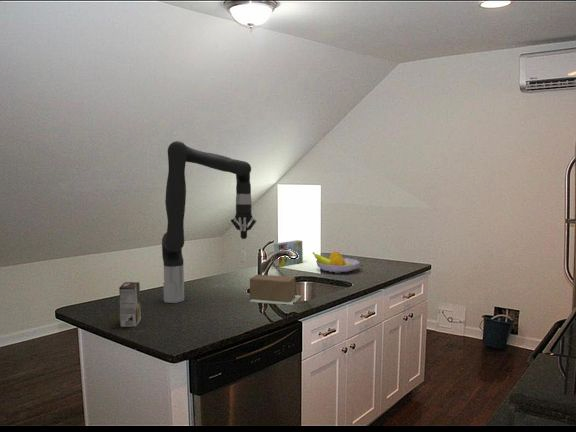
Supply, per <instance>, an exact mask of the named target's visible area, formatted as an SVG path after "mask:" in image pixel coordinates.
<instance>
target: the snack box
mask: <svg viewBox="0 0 576 432" xmlns="http://www.w3.org/2000/svg"><path fill="white" fill-rule="evenodd" d="M283 249H291V250H293V251H295V252H297V253H298V255H299V258H298V259H289V258H288V257H286V256H284V257H280V258H279V259H277V260H276V261H275V263H273V266H274V267H277V268H282V267H288V266H292V265H298V264H303V261H304V259H303V258H304V257H303V255H304V254H303V240H297V239H296V240H289V241H282V242H276V243H273V254H274V253H275V252H277V251H280V250H283Z"/></svg>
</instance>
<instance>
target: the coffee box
mask: <svg viewBox="0 0 576 432" xmlns="http://www.w3.org/2000/svg"><path fill="white" fill-rule="evenodd" d="M140 287H141V285H140V281H138V282H136V281H135V282H134V281H128V282H127V281H125V282H123V283H122V284H121V285H120V286H119V287H118V288H119V290H118V291H119V315H120V316H119V319H120V322H119V323H120V327H121V328H126V327H127V328H128V327H132V328H133V327H137V326H138V325H139V323H140V321H141V319H142V315H141V314H142V313H141V311H142V310H141V289H140Z"/></svg>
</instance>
